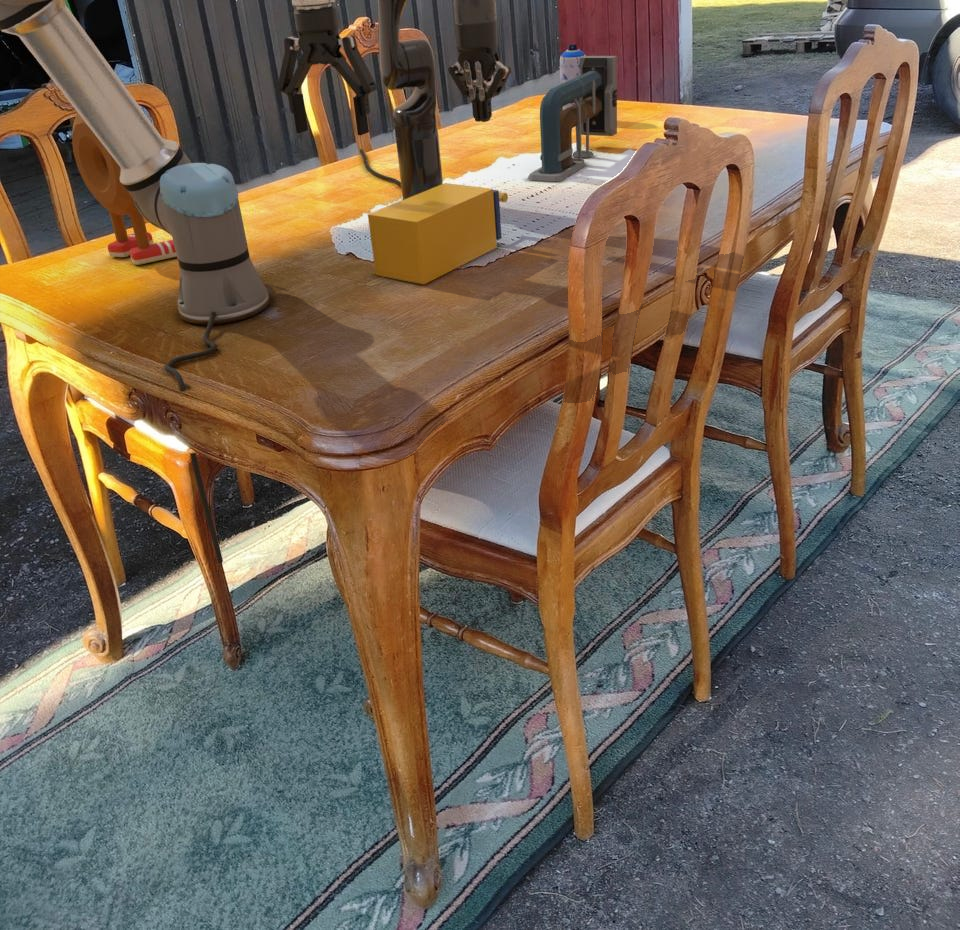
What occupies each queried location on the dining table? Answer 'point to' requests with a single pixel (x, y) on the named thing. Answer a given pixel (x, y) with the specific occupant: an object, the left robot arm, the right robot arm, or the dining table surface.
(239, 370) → the dining table surface
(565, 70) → the aerosol can
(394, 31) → the right robot arm
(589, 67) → the clamp
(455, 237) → the yellow rectangular block
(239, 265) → the left robot arm
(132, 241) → the toy
